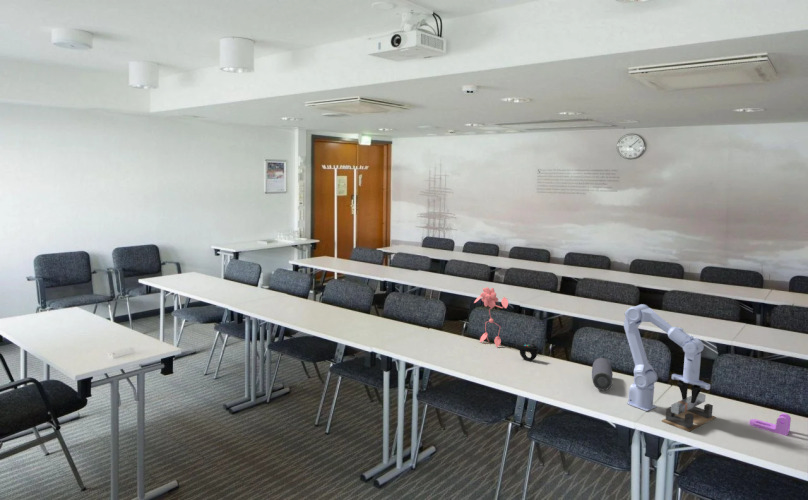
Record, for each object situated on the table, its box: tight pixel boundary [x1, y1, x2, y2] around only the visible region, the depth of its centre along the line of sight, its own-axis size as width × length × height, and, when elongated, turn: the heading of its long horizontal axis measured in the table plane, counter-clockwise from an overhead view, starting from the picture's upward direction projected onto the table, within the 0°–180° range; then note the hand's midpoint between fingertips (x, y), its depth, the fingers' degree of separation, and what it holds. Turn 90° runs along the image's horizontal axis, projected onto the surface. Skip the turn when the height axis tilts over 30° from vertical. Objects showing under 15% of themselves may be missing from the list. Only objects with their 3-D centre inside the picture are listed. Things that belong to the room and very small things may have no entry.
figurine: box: [473, 286, 509, 348], centre depth 317 cm, size 15×26×35 cm, turn 40°
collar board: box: [661, 403, 716, 433], centre depth 224 cm, size 11×22×6 cm, turn 126°
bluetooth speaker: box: [591, 357, 614, 391], centre depth 261 cm, size 23×9×10 cm, turn 161°
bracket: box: [749, 412, 792, 437], centre depth 217 cm, size 13×6×7 cm, turn 46°
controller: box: [515, 342, 539, 362], centre depth 295 cm, size 4×12×10 cm, turn 53°
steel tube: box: [670, 392, 706, 415], centre depth 222 cm, size 3×22×3 cm, turn 127°
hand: (688, 401), depth 222 cm, fingers closed on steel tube, 3 cm apart
